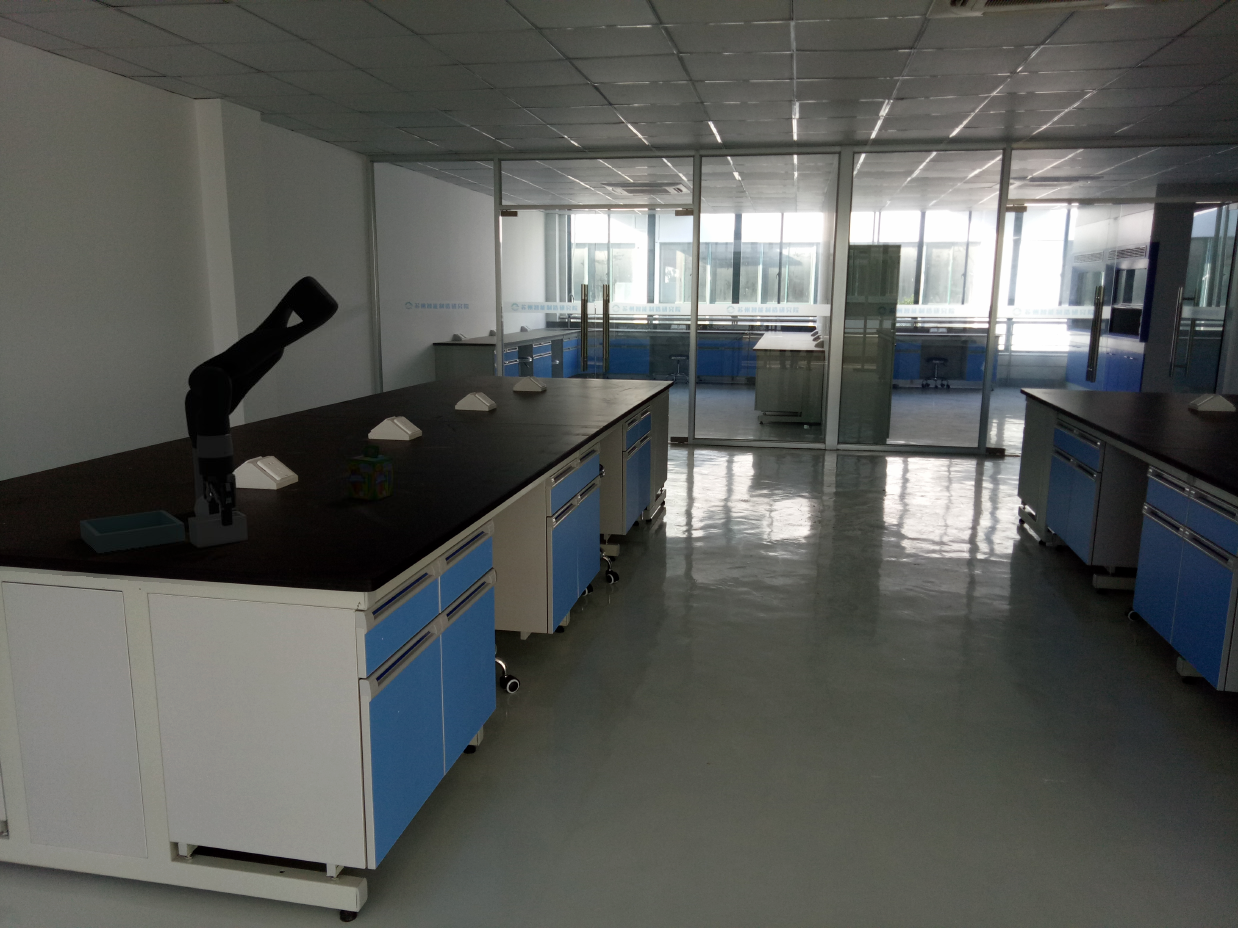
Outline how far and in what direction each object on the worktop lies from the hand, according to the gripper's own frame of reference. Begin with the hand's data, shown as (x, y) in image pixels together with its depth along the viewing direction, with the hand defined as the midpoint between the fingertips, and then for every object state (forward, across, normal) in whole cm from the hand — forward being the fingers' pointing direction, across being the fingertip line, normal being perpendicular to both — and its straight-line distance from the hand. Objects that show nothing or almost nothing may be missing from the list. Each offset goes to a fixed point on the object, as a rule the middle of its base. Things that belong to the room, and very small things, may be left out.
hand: (220, 522), depth 207 cm
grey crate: (+5, 0, +1) cm, 5 cm away
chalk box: (+5, +22, -49) cm, 54 cm away
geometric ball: (+5, +18, -4) cm, 19 cm away
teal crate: (+5, +14, +15) cm, 21 cm away
